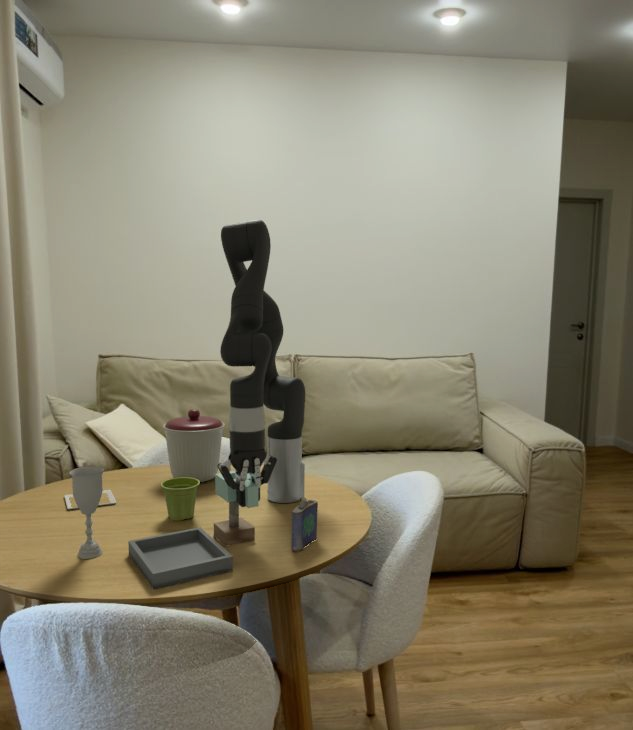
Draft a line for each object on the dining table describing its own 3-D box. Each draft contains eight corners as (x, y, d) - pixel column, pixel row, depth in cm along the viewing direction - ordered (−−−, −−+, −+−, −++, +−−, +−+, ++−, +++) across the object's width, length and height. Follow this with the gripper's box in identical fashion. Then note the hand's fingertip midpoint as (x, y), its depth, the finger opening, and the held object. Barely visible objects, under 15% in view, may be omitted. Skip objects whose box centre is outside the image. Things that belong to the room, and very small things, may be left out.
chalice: (78, 547, 136) (75, 466, 133) (110, 546, 136) (108, 466, 134) (68, 561, 128) (64, 476, 126) (101, 560, 129) (99, 475, 127)
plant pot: (191, 525, 149) (190, 489, 148) (154, 521, 151) (154, 487, 150) (206, 511, 158) (205, 478, 157) (171, 508, 160) (170, 476, 159)
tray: (200, 540, 140) (200, 527, 140) (232, 570, 125) (232, 556, 124) (128, 554, 132) (128, 541, 132) (153, 589, 117) (153, 574, 116)
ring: (243, 488, 145) (243, 469, 145) (268, 504, 135) (267, 484, 134) (215, 493, 142) (215, 474, 141) (238, 510, 131) (238, 489, 130)
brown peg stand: (241, 530, 146) (241, 492, 145) (254, 540, 140) (254, 501, 139) (213, 535, 143) (213, 497, 142) (225, 546, 137) (225, 506, 136)
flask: (298, 553, 134) (299, 504, 132) (287, 550, 135) (287, 502, 134) (319, 538, 142) (319, 493, 140) (308, 536, 143) (308, 491, 142)
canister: (163, 471, 193) (162, 404, 191) (222, 468, 197) (221, 403, 195) (163, 489, 176) (162, 416, 173) (228, 485, 180) (227, 413, 178)
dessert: (116, 506, 163) (116, 488, 163) (67, 513, 158) (67, 494, 157) (110, 493, 174) (110, 476, 173) (64, 499, 169) (63, 481, 168)
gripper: (268, 419, 140) (268, 494, 142) (209, 426, 132) (211, 505, 135) (284, 426, 133) (284, 504, 135) (223, 434, 126) (225, 516, 128)
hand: (248, 504), depth 135 cm, fingers closed on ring, 2 cm apart
